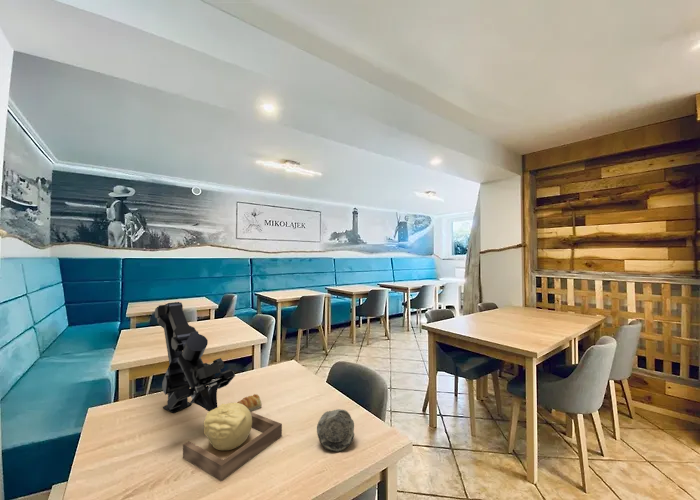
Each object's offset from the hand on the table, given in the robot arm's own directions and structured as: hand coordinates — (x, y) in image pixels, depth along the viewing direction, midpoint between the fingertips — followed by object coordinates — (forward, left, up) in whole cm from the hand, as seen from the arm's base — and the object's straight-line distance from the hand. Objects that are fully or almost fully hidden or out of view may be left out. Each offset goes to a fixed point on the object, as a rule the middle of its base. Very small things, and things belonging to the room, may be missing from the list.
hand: (215, 413), depth 86 cm
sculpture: (+6, 0, -7) cm, 9 cm away
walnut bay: (+7, 0, -7) cm, 10 cm away
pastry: (-5, +16, -7) cm, 18 cm away
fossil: (+31, +16, -7) cm, 35 cm away
